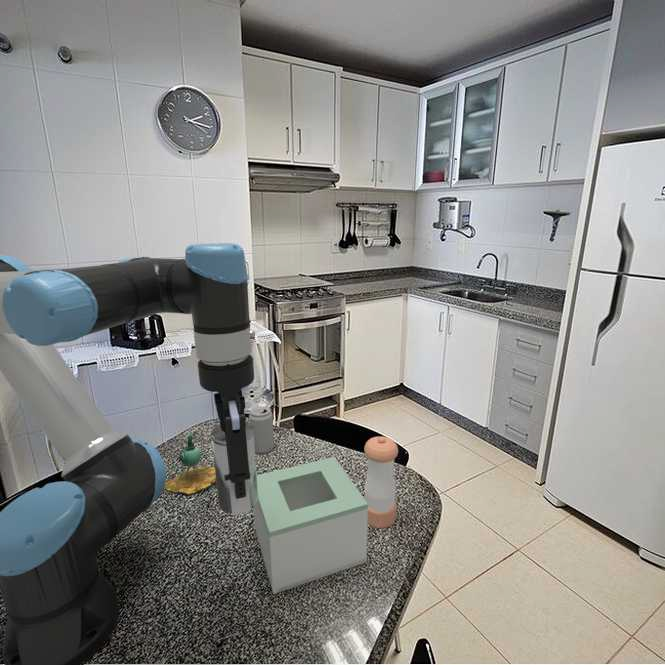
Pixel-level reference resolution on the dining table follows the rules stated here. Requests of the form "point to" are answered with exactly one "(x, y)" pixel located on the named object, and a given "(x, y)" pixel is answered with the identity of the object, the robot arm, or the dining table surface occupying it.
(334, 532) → the caddy
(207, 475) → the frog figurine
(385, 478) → the pepper shaker
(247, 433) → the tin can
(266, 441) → the beverage can
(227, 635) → the dining table surface
